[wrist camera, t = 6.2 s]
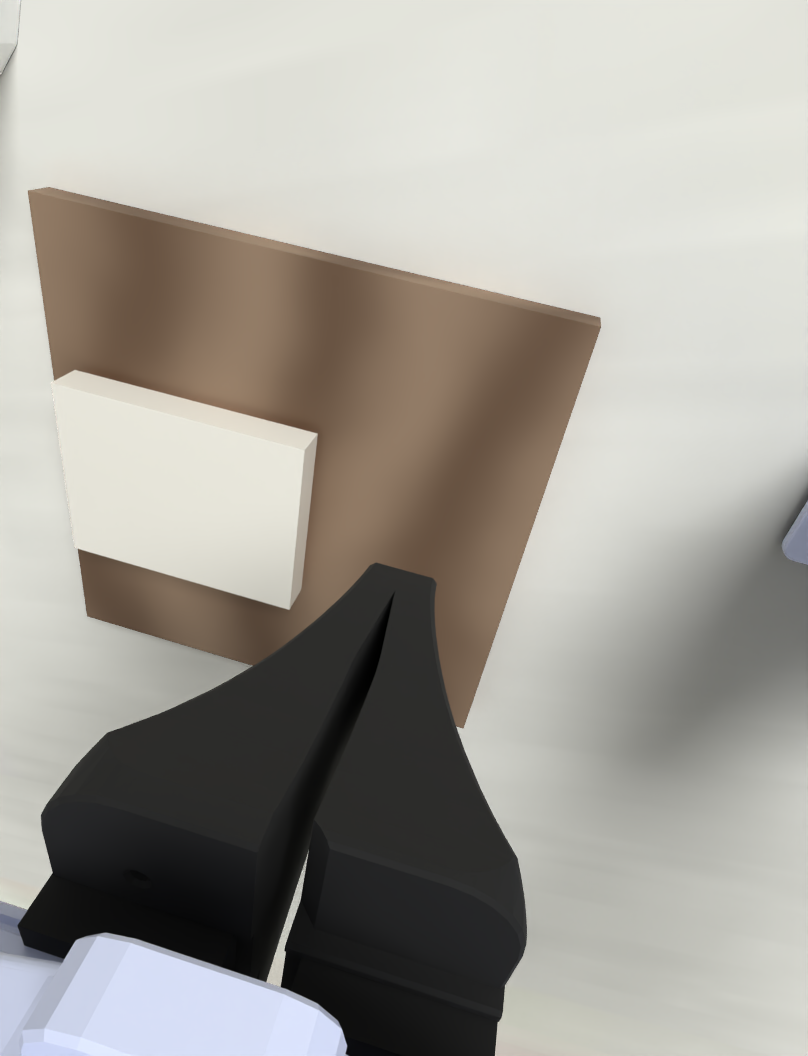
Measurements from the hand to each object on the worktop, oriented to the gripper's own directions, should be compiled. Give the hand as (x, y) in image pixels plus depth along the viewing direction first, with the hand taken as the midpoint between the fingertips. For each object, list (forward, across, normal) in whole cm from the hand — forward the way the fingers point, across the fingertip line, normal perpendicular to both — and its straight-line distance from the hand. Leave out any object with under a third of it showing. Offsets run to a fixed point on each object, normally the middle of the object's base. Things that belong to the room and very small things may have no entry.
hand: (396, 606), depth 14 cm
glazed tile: (+9, +5, +5) cm, 11 cm away
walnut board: (+10, +6, +5) cm, 13 cm away
